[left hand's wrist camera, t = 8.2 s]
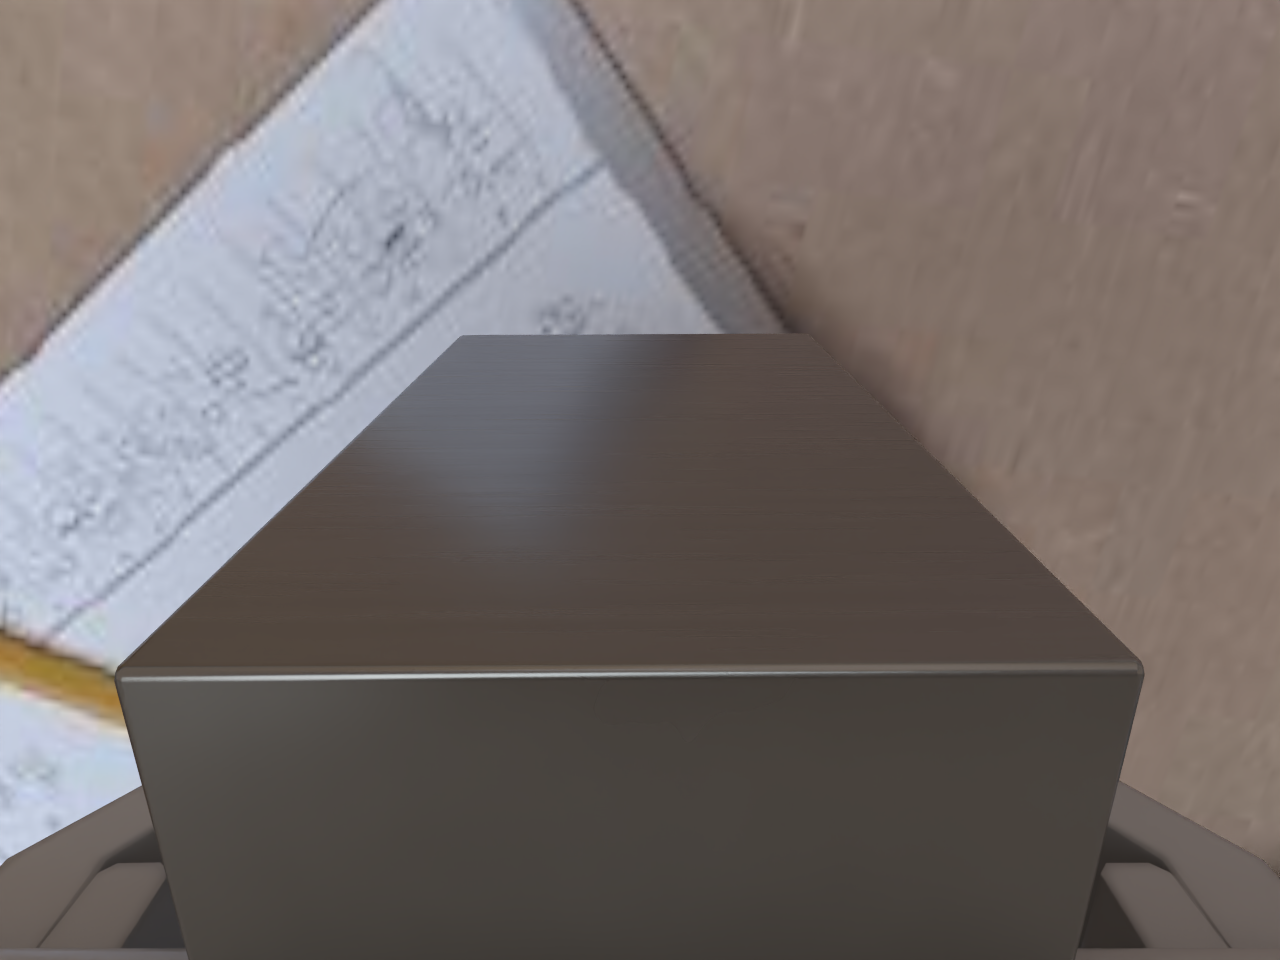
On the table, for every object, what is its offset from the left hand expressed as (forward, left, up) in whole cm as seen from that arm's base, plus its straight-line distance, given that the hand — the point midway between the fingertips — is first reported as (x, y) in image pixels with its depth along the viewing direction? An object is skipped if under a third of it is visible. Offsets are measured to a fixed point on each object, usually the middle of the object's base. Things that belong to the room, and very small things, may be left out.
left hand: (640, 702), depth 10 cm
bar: (+10, 0, -3) cm, 10 cm away
